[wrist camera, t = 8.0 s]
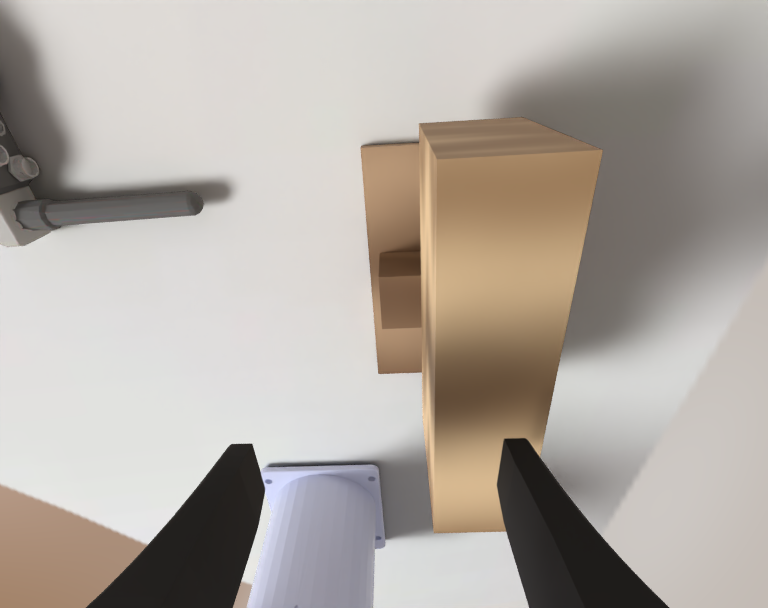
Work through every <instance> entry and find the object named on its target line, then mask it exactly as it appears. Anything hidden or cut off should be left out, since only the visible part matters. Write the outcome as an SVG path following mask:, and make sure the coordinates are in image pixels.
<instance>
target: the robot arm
mask: <svg viewBox="0 0 768 608" xmlns="http://www.w3.org/2000/svg"><path fill="white" fill-rule="evenodd" d="M497 490H498V495H499V501H500V506H501V511H502V516H503V521H504V525H505V528H506V532H507V535H508V539H509V542H510V545H511V549H512V552H513V555H514V559H515V562H516V565H517V568H518V572H519V575H520V578H521V582H522V585H523V588H524V592H525V595H526V598H527V601H528V605H529V608H669V607H668V606H667V605H666V604H665V603H664V602H663V601H662V600H661V599H660V598H659V597H658V596H657V595H656V594H655V593H654V592H653V591H652V590H651V589H650V588H649V587H648V586H647V585H646V584H645V583H644V582H643V581H642V580H641V579H640V578H639V577H638V576H637V575H636V574H635V573H634V572H633V571H632V570H631V569H630V567H629V566H628V565H627V564H626V563H625V562H624V561H623V560H622V559H621V558H620V557H619V556H618V554H617V553H616V552H615V551H614V550H613V549H612V548H611V547H610V546H609V545H608V543H607V542H606V541H605V540H604V539H603V537H602V536H601V535H600V534H599V533H598V532H597V531H596V529H595V528H594V527H593V526H592V525H591V523H590V522H589V521H588V520H587V519H586V517H585V516H584V515H583V514H582V512H581V511H580V510H579V509H578V507H577V506H576V505H575V504H574V502H573V501H572V500H571V499H570V497H569V496H568V495H567V494H566V492H565V491H564V490H563V488H562V487H561V486H560V484H559V483H558V482H557V480H556V479H555V478H554V476H553V475H552V473H551V472H550V471H549V469H548V468H547V467H546V465H545V464H544V462H543V461H542V460H541V458H540V457H539V455H538V454H537V452H536V451H535V449H534V448H533V446H532V445H531V443H530V442H529V441H528V440H527V439H526V438H506V439H504V441H503V447H502V454H501V460H500V466H499V473H498V479H497ZM264 494H266V497H267V500H268V503H269V506H270V509H271V512H272V513H271V516H270V520H269V524H268V528H267V532H266V536H265V540H264V543H263V547H262V551H261V555H260V559H259V563H258V566H257V570H256V574H255V578H254V582H253V586H252V590H251V594H250V597H249V601H248V605H247V608H373V595H374V560H375V549H381V548H383V547H385V531H384V520H383V509H382V499H381V488H380V477H379V469H378V467H377V466H375V465H338V466H301V467H267V468H263V469H262V470H261V472H260V469H259V465H258V462H257V459H256V455H255V452H254V448H253V445H252V444H231V445H230V446H229V447H228V448H227V449H226V451H225V452H224V453H223V455H222V456H221V457H220V458H219V460H218V461H217V462H216V464H215V465H214V466H213V468H212V469H211V470H210V472H209V473H208V474H207V475H206V477H205V478H204V479H203V480H202V482H201V483H200V484H199V486H198V487H197V488H196V489H195V491H194V492H193V493H192V494H191V495H190V497H189V498H188V499H187V500H186V502H185V503H184V504H183V505H182V506H181V508H180V509H179V510H178V511H177V512H176V514H175V515H174V516H173V517H172V518H171V520H170V521H169V522H168V523H167V524H166V525H165V526H164V528H163V529H162V530H161V531H160V532H159V533H158V534H157V535H156V537H155V538H154V539H153V540H152V541H151V542H150V543H149V544H148V546H147V547H146V548H145V549H144V550H143V551H142V552H141V553H140V554H139V555H138V557H137V558H136V559H135V560H134V561H133V562H132V563H131V564H130V565H129V566H128V567H127V568H126V569H125V570H124V571H123V572H122V573H121V574H120V575H119V576H118V577H117V578H116V579H115V580H114V581H113V582H112V583H111V584H110V585H109V586H108V587H107V588H106V589H105V590H104V591H103V592H102V593H101V594H100V595H99V596H98V597H97V598H96V599H95V600H93V601H92V602H91V603H90V604H89V605H88V606H87V607H86V608H233V605H234V602H235V599H236V595H237V593H238V589H239V586H240V583H241V580H242V577H243V574H244V570H245V567H246V564H247V561H248V558H249V554H250V551H251V548H252V545H253V541H254V538H255V535H256V532H257V528H258V524H259V520H260V515H261V510H262V505H263V499H264Z"/></svg>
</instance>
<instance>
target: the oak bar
mask: <svg viewBox="0 0 768 608" xmlns="http://www.w3.org/2000/svg"><path fill="white" fill-rule="evenodd" d="M602 152H603V150H602V149H599V148H597V147H594V146H592V145H590V144H587V143H585V142H582V141H580V140H577V139H575V138H572V137H570V136H568V135H565V134H563V133H560V132H558V131H555V130H553V129H550V128H548V127H545V126H543V125H541V124H538V123H536V122H533V121H531V120H528V119H526V118H523V117H518V118H501V119H485V120H468V121H452V122H436V123H419V161H420V241H421V321H422V402H423V426H424V436H425V447H426V457H427V468H428V478H429V488H430V499H431V509H432V519H433V530H434V533H461V532H504V531H506V528H505V525H504V521H503V516H502V511H501V506H500V501H499V495H498V490H497V479H498V473H499V466H500V460H501V454H502V447H503V441H504V439H506V438H526V439H527V440H528V441H529V442H530V443H531V445H532V446H533V448H534V449H535V451H536V452H537V454H538V455H539V457H540V454H541V449H542V444H543V439H544V435H545V430H546V425H547V420H548V415H549V410H550V405H551V401H552V396H553V391H554V386H555V381H556V376H557V371H558V366H559V362H560V357H561V352H562V347H563V342H564V337H565V332H566V328H567V323H568V318H569V313H570V308H571V303H572V298H573V294H574V289H575V284H576V279H577V274H578V269H579V264H580V259H581V255H582V250H583V245H584V240H585V235H586V230H587V225H588V221H589V216H590V211H591V206H592V201H593V196H594V191H595V186H596V182H597V177H598V172H599V167H600V162H601V157H602Z"/></svg>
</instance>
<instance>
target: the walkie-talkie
mask: <svg viewBox="0 0 768 608" xmlns="http://www.w3.org/2000/svg"><path fill="white" fill-rule="evenodd" d="M38 175H39V167H38V165H37V163H36V162H35V161H34V160H33V159H31V158H28V157H23V156H22V155H21V153H20V151H19V149H18V147H17V145H16V143H15V141H14V139H13V137H12V135H11V133H10V131H9V129H8V127H7V125H6V124H5V122H4V120H3V118H2V116H1V114H0V244H1V245H3V246H6V247H15V246H25V245H27V244H29V243H31V242H33V241H35V240H37V239H39V238H41V237H43V236H45V235H46V234H48V233H50V232H51V229H57V228H60V227H61V226H62V225H73V224H86V223H99V222H113V221H126V220H139V219H152V218H165V217H178V216H191V215H197V214H199V213H200V212H201V211H202V209H203V200H202V198H201V197H200V196H199V195H198V194H197V193H195V192H192V191H183V192H170V193H157V194H144V195H131V196H117V197H104V198H91V199H78V200H65V201H54V200H51V199H37V200H36V199H35V197H34V195H33V193H32V191H31V189H30V187H29V186H28V184H29V183H30V181H31V180H32V179H33V177H36V176H38Z"/></svg>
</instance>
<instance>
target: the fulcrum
mask: <svg viewBox="0 0 768 608" xmlns="http://www.w3.org/2000/svg"><path fill="white" fill-rule="evenodd" d="M361 159H362V171H363V184H364V197H365V210H366V222H367V235H368V248H369V260H370V273H371V286H372V298H373V311H374V324H375V336H376V349H377V362H378V374H390V373H418V372H422V321H421V241H420V161H419V143H402V144H384V145H366V146H361Z"/></svg>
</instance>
